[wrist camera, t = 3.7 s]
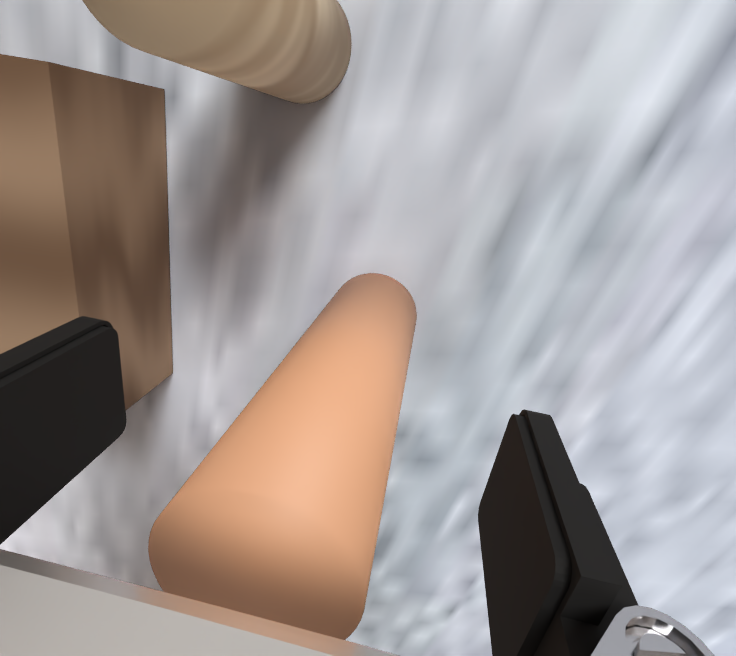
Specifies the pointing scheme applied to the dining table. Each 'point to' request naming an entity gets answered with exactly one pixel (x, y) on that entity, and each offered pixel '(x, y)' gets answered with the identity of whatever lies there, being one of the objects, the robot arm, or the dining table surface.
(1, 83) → the hole block
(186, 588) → the long pin
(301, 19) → the medium pin
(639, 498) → the dining table surface
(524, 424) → the robot arm
